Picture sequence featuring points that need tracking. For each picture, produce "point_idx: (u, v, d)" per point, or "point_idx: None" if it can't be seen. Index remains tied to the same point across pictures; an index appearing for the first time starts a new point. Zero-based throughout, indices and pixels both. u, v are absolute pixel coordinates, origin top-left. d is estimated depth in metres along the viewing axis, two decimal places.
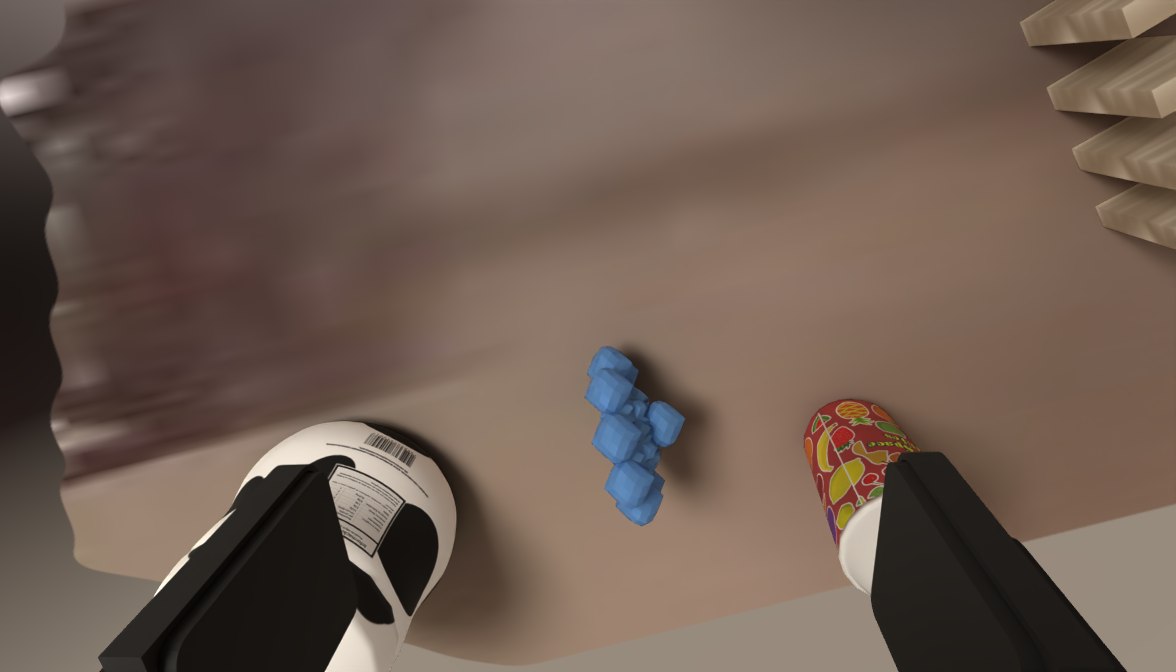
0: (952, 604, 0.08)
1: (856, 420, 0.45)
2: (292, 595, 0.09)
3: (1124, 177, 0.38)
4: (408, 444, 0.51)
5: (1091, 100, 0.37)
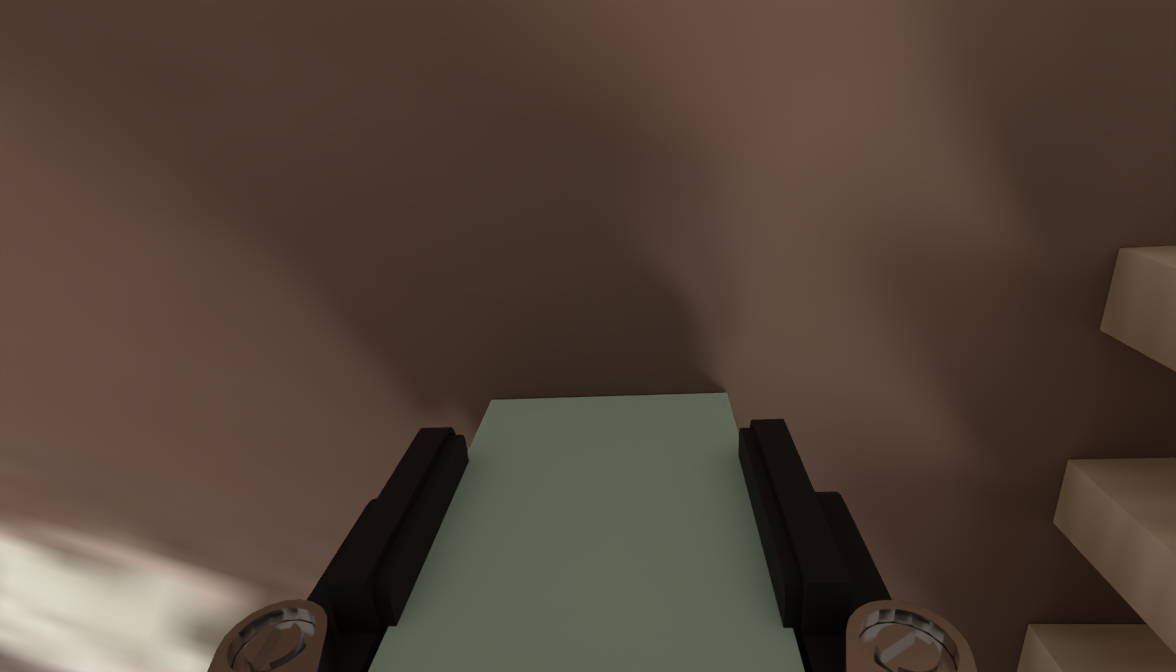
0: (762, 544, 0.09)
1: None
2: None
3: None
4: None
5: None
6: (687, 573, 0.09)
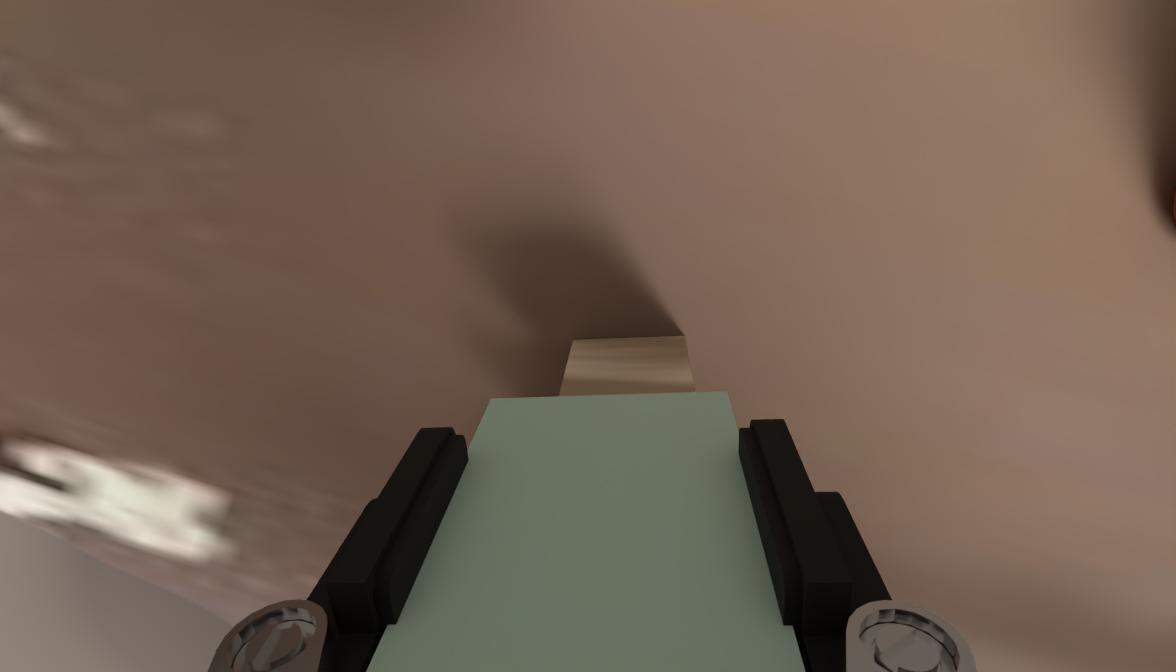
0: (762, 544, 0.09)
1: None
2: None
3: None
4: None
5: None
6: (687, 571, 0.09)
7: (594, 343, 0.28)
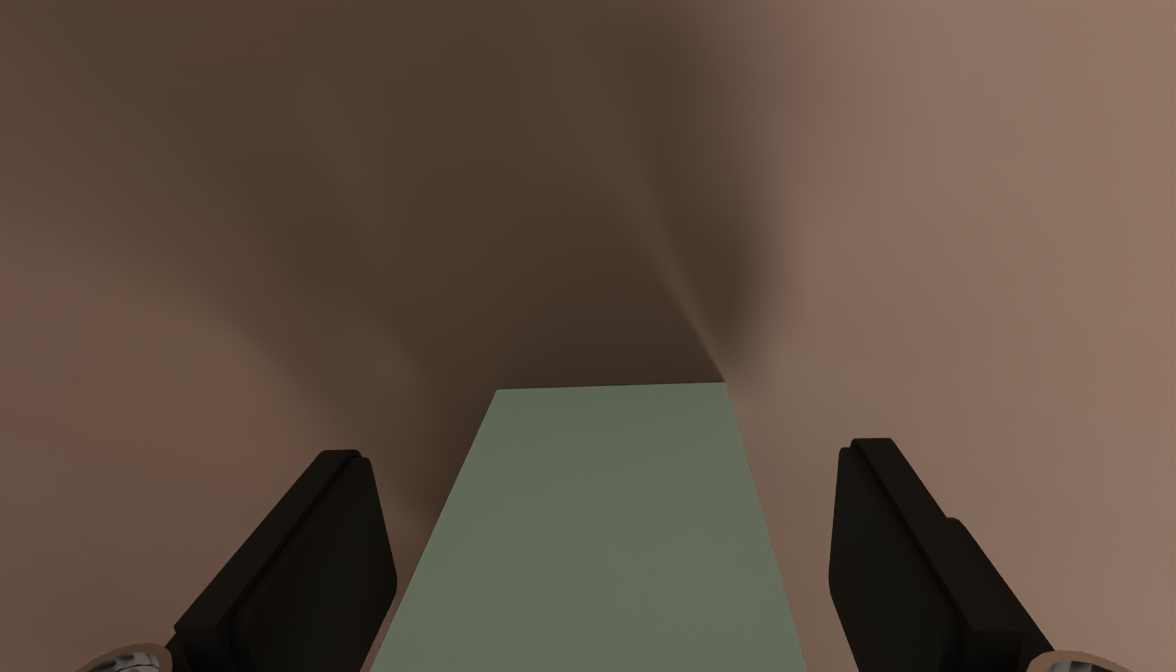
0: (890, 579, 0.08)
1: None
2: (342, 574, 0.10)
3: None
4: None
5: None
6: (686, 548, 0.09)
7: None
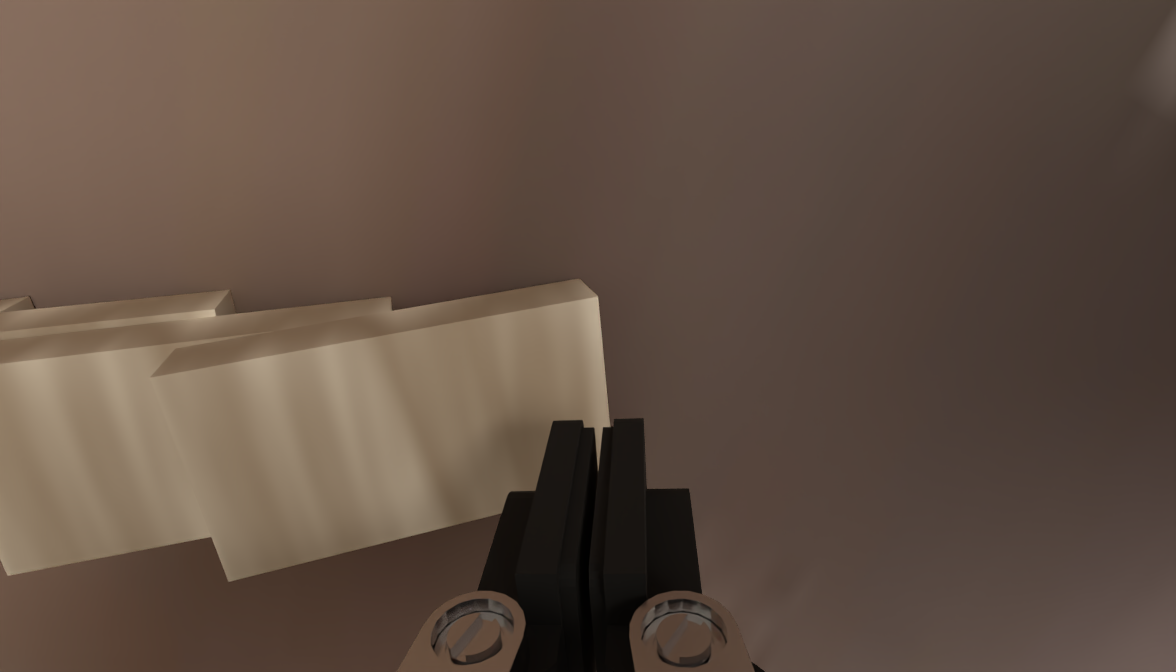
0: None
1: None
2: None
3: (37, 310, 0.15)
4: None
5: (207, 328, 0.14)
6: None
7: None
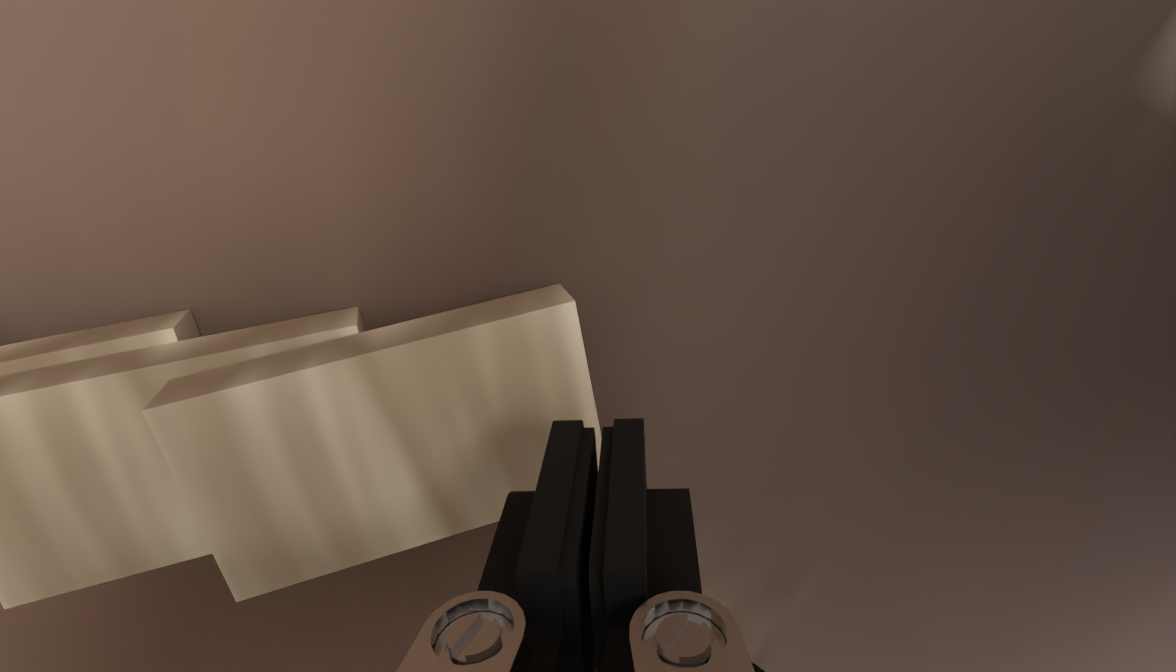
0: None
1: None
2: None
3: (0, 347, 0.16)
4: None
5: (178, 351, 0.15)
6: None
7: None
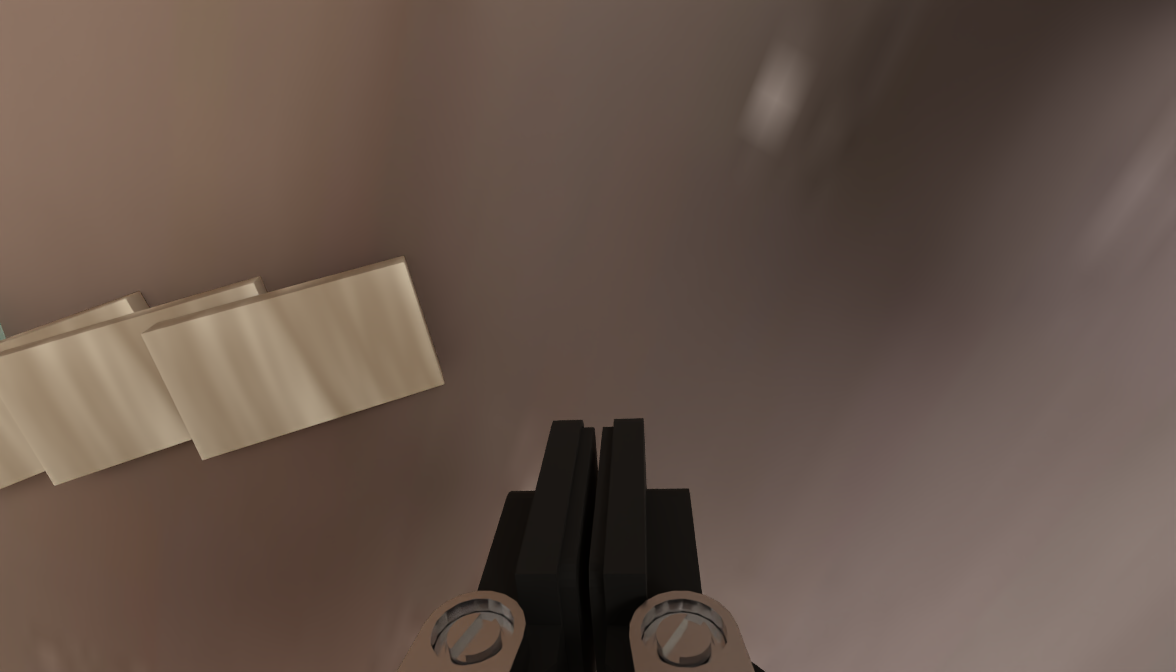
0: None
1: None
2: None
3: (23, 332, 0.25)
4: None
5: (144, 312, 0.24)
6: None
7: None
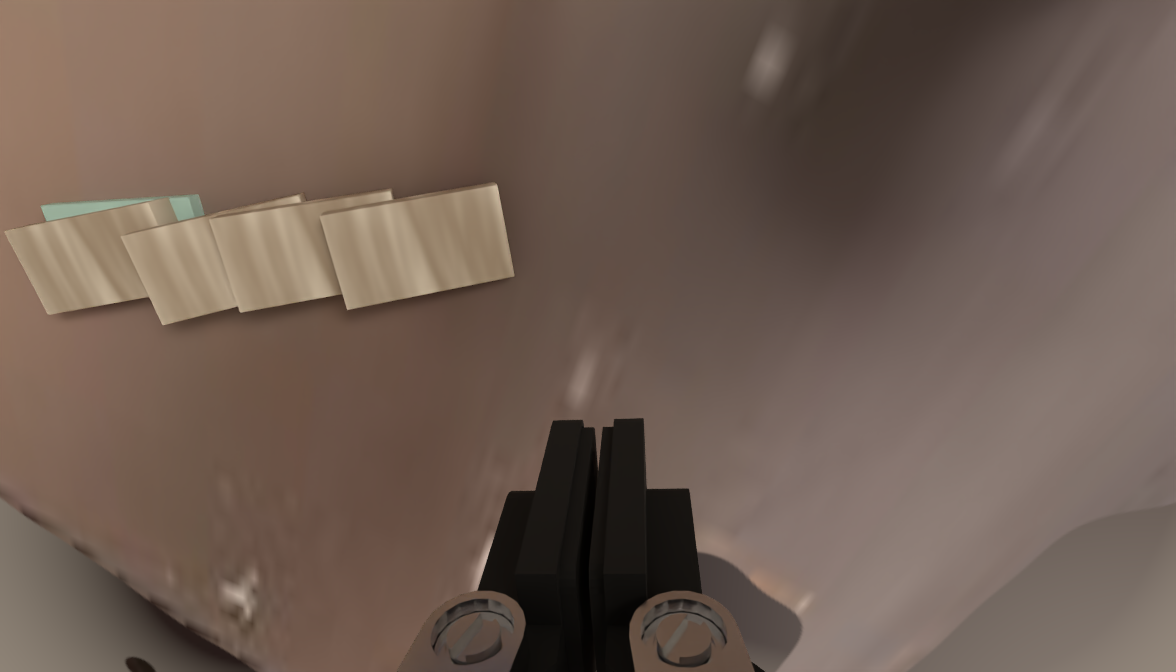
0: None
1: None
2: None
3: None
4: None
5: (314, 201, 0.34)
6: None
7: None
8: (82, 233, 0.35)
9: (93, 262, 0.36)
